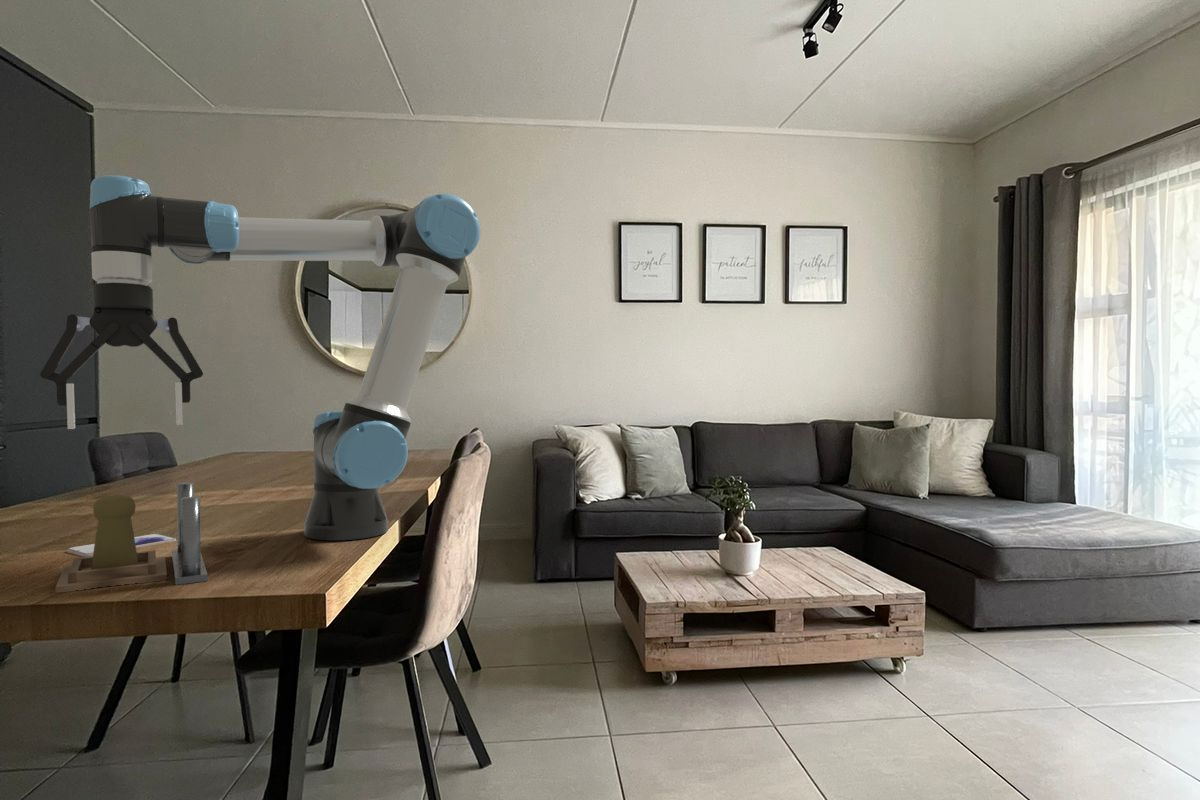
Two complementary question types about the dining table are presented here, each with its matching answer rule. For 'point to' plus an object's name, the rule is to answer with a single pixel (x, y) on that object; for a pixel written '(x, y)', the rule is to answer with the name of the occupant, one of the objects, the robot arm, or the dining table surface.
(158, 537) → the smartphone
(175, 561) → the clip
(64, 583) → the end holder
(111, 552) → the cork
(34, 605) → the dining table surface
